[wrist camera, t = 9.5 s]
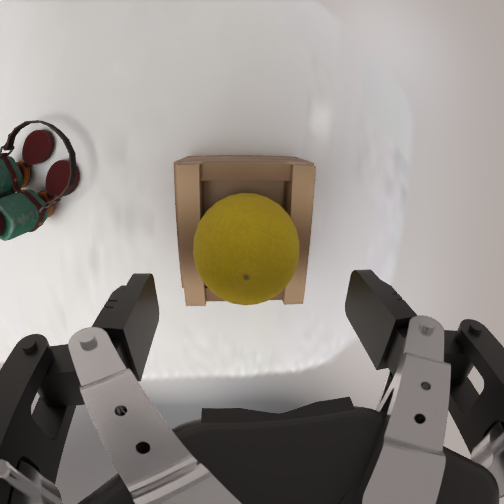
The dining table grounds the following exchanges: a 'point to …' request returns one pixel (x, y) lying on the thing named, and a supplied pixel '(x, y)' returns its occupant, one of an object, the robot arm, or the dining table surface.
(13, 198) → the binoculars
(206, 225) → the lemon
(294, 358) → the dining table surface
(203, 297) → the wooden crate
